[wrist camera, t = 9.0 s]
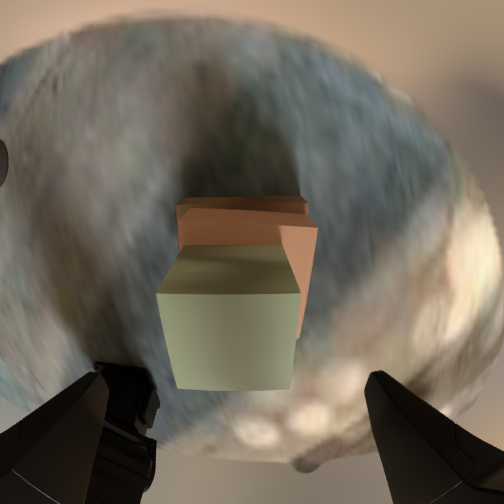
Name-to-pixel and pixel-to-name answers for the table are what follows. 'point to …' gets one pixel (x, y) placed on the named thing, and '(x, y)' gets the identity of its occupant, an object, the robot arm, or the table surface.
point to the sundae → (3, 163)
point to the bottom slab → (245, 204)
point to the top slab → (256, 237)
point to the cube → (230, 317)
